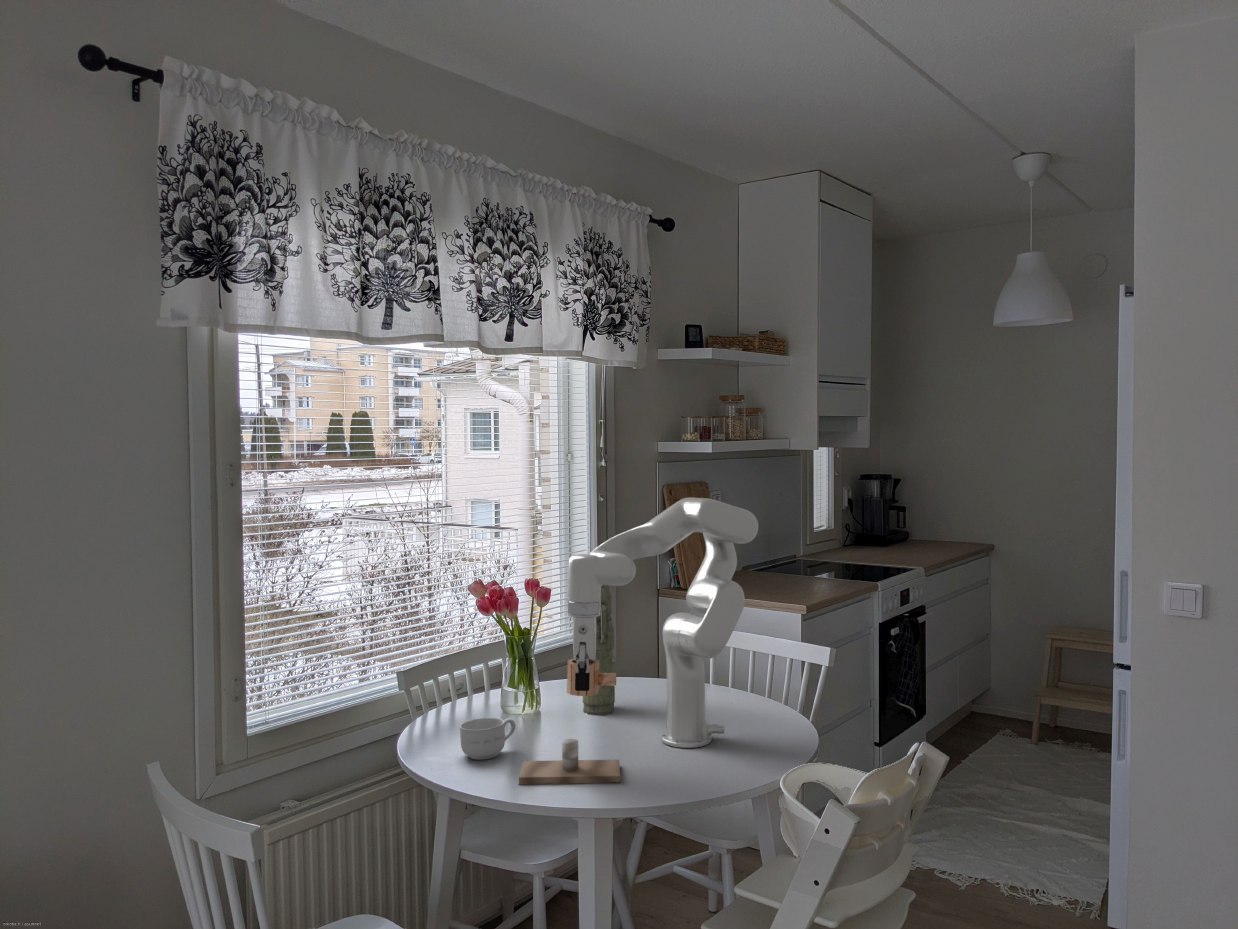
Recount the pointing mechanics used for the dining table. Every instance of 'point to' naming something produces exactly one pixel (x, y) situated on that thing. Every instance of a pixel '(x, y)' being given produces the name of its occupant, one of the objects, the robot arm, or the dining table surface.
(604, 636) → the olive green tall cylinder
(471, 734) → the teacup
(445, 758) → the dining table surface
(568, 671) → the wooden stave mug
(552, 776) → the duct board
